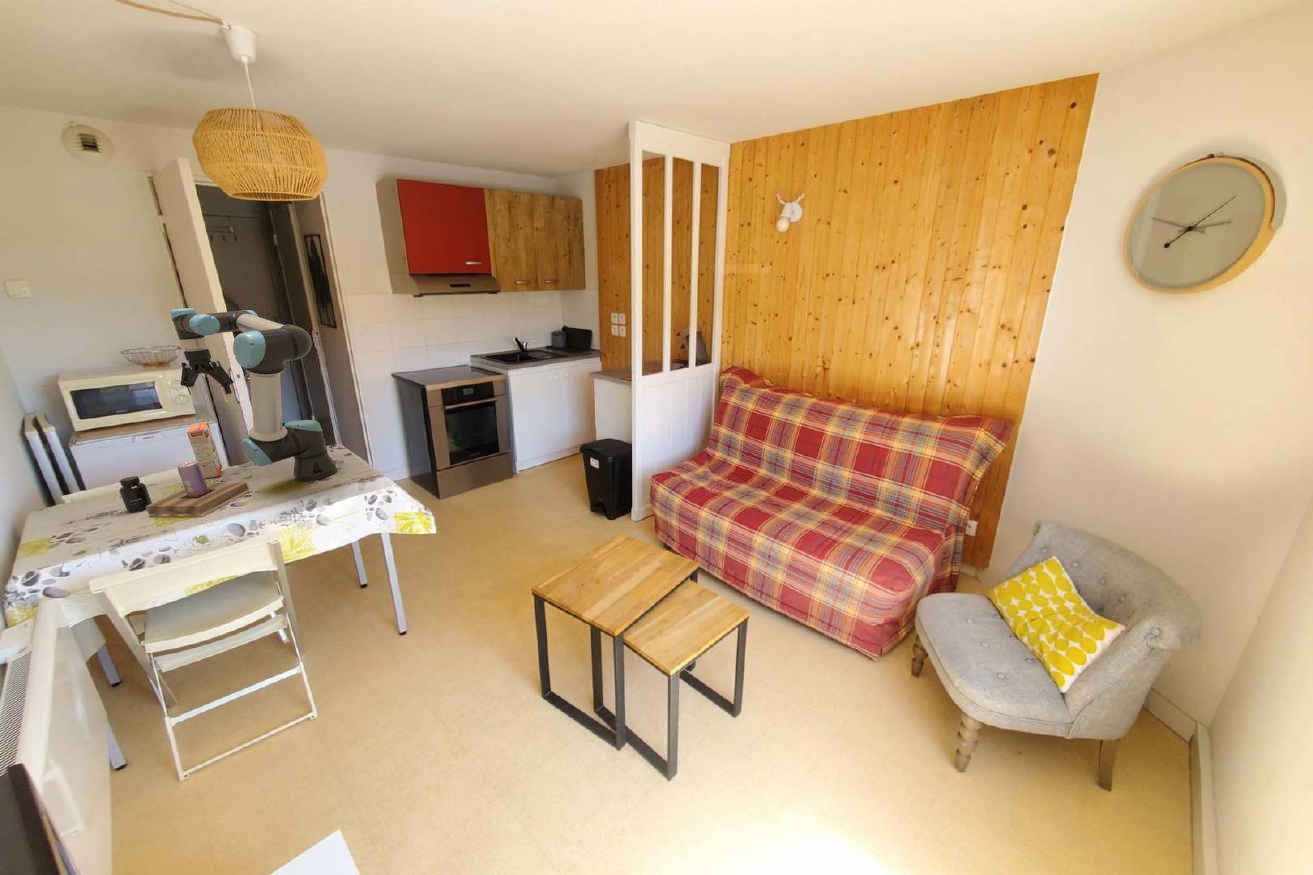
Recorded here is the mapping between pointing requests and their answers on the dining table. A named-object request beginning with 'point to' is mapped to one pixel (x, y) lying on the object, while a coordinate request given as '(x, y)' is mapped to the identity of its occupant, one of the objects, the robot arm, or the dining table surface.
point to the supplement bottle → (134, 494)
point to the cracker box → (205, 449)
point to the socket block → (197, 501)
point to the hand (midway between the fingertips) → (213, 402)
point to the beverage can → (193, 479)
